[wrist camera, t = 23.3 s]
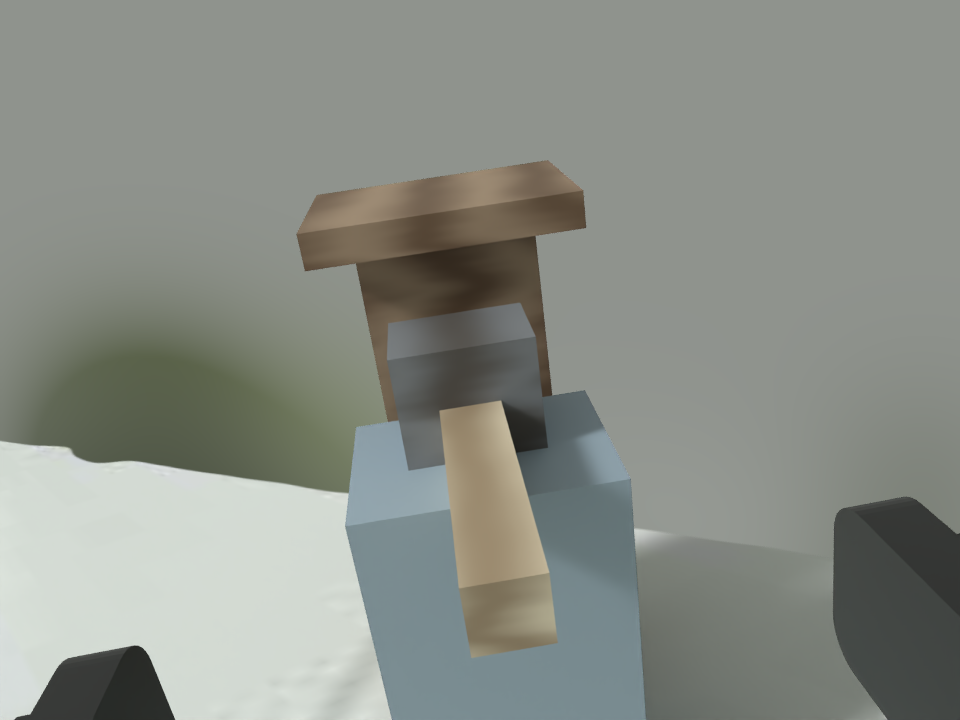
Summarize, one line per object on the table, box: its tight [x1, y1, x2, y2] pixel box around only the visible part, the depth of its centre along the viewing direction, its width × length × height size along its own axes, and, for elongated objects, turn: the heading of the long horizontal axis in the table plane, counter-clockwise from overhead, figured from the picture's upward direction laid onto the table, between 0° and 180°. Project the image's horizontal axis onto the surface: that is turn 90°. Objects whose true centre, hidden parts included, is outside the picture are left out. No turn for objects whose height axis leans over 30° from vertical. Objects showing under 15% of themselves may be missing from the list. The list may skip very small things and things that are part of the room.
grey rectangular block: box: [387, 303, 558, 658], centre depth 34 cm, size 7×18×6 cm, turn 6°
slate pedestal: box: [345, 390, 646, 720], centre depth 44 cm, size 13×10×24 cm
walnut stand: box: [297, 161, 586, 422], centre depth 52 cm, size 15×10×35 cm
